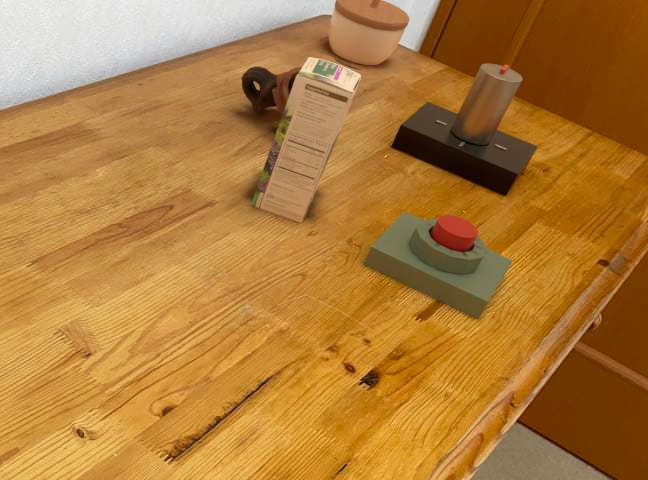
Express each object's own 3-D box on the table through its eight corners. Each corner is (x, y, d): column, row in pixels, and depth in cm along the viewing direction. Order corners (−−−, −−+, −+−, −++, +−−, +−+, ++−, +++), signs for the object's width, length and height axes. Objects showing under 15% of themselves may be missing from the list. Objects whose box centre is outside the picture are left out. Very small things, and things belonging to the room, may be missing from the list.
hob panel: (526, 167, 109) (538, 145, 107) (505, 196, 102) (518, 172, 100) (417, 122, 114) (427, 100, 112) (390, 147, 106) (401, 123, 104)
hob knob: (484, 149, 103) (519, 82, 98) (446, 133, 105) (477, 67, 99) (494, 137, 107) (528, 72, 101) (456, 121, 108) (487, 57, 102)
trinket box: (387, 58, 130) (413, -5, 124) (389, 84, 122) (416, 17, 116) (319, 40, 131) (341, -24, 124) (316, 64, 123) (340, -3, 116)
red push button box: (502, 278, 87) (522, 245, 85) (477, 320, 81) (497, 286, 78) (395, 228, 91) (410, 195, 88) (362, 265, 84) (378, 230, 82)
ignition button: (474, 242, 84) (483, 227, 83) (463, 258, 81) (472, 242, 80) (436, 225, 85) (444, 210, 84) (425, 240, 83) (432, 224, 81)
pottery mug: (318, 120, 110) (353, 81, 102) (297, 176, 106) (331, 140, 99) (237, 74, 108) (267, 31, 100) (213, 130, 104) (242, 89, 97)
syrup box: (261, 185, 93) (305, 53, 83) (313, 202, 92) (363, 71, 82) (249, 207, 89) (294, 71, 79) (303, 226, 88) (355, 90, 78)
